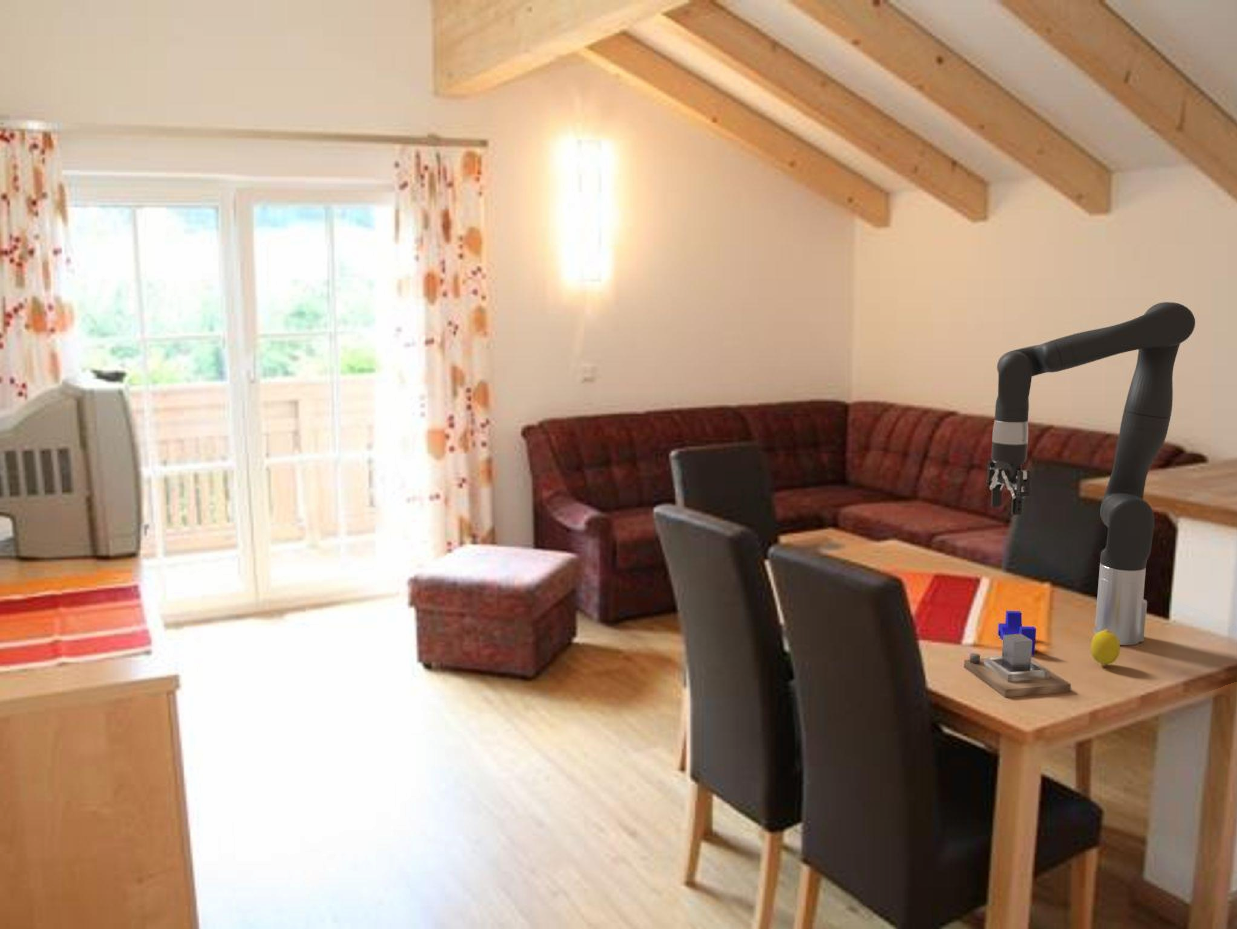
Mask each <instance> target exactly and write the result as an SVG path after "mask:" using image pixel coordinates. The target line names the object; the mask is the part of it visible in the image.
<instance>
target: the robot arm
mask: <svg viewBox="0 0 1237 929" xmlns="http://www.w3.org/2000/svg"><path fill="white" fill-rule="evenodd" d="M1195 327H1196V318H1195V316H1194V314H1193V312H1192V310H1191V309H1189V308H1188V306H1186V305H1183V304H1181V303H1178V302H1173V301H1172V302H1171V301H1170V302H1169V301H1168V302H1167V301H1164V302H1159V303H1156V304H1154V305H1152V306H1151V307H1149V308H1148V309H1147V310H1146V311H1145V312H1144V314H1143V315H1140V316H1138V317H1135V318H1133V319H1130V320H1127V321H1124V322H1122V323H1119V324H1114V325H1111V326H1110V325H1109V326H1107V327H1101V328H1096V329H1091V330H1086V331H1081V332H1077V333H1073V334H1069V335H1066V336H1063V337H1058V338H1056V339H1052V340H1049V341H1046V342H1044V343H1040V344H1036V345H1031V346H1025V347H1022V348H1021V347H1020V348H1018V349H1013V350H1010V351H1008V352H1006V353H1004V354H1002V355H1001V356H1000V358H999V359H998V362H997V366H996V369H997V373H998V374H997V375H998V383H997V384H998V386H997V389H998V390H997V397H996V400H995V407H994V408H995V410H994V411H995V412H994V423H993V427H992V438H991V439H992V440H991V442H992V443H991V456H990V457H991V460H989V461H987V466H986V477H985V479H986V480H985V485H986V486H987V487H989V490H991V491H990V492H991V494H990V495H991V496H990V506H991V507H994V508H995V507H996V508H997V507H998V508H999V507H1001V506H1002V496H1003V491H1002V489H1003V487H1004V486H1006V489H1007V490H1008V491H1010V495H1011V497H1012V498H1011V503H1010V506H1011V507H1010V514H1011V515H1013V516H1018V515H1019V516H1020V515H1021V514H1022V509H1023V500H1024V498H1029V497H1030V494H1031V493H1030V489H1031V488H1030V485H1031V470H1027V469H1025V470H1023V469H1022V464H1023V463H1025V462H1026V461H1027V459H1028V445H1029V411H1030V410H1029V409H1030V400H1029V398H1030V397H1029V396H1030V394H1031V393H1030V392H1031V387H1032V379H1033V377H1036V376H1039V375H1043V374H1047V373H1058V372H1061V371H1066V370H1069V369H1072V368H1076V367H1080V366H1083V365H1086V364H1089V363H1092V362H1096V361H1100V360H1103V359H1105V358H1106V359H1107V358H1109V357H1112V356H1113V357H1114V356H1116V355H1120V354H1124V353H1127V352H1128V353H1129V352H1133V351H1137V350H1138V351H1137V353H1138V354H1137V360H1136V365H1135V369H1134V373H1133V376H1132V378H1131V382H1130V385H1129V389H1128V393H1127V395H1126V400H1125V404H1124V407H1123V408H1124V409H1123V412H1122V416H1121V417H1122V418H1121V422H1120V428H1119V433H1118V434H1119V435H1118V439H1117V443H1116V449H1115V455H1114V462H1113V467H1112V469H1111V470H1112V471H1111V474H1110V477H1109V481H1108V482H1107V486H1106V489H1105V493H1104V495H1103V498H1102V501H1101V505H1100V510H1099V511H1100V512H1099V513H1100V518H1101V521H1102V522H1103V524H1104V525H1105V526H1106V527H1107V536H1106V537H1107V538H1106V546H1105V548H1104V549H1102V551H1101V552H1100V558H1099V559H1100V560H1099V574H1098V586H1097V597H1096V598H1097V599H1096V608H1095V609H1096V610H1095V622H1094V623H1095V624H1094V632H1093V636H1094V635H1095V634H1096V633H1098V632H1100V631H1104V630H1105V629H1107V630H1109V631H1110V632H1112V633H1113V634H1115V635H1116V636H1117V638H1118V640H1119V644H1120V646H1135V645H1137V644H1139V643H1140V642H1141V643H1142V642H1145V641H1144V640H1145V628H1146V618H1147V607H1148V600H1146V599H1144V596H1145V595H1144V594H1145V585H1146V584H1145V582H1146V581H1145V580H1146V569H1147V562H1148V560H1149V557H1150V556H1151V553H1152V552H1151V551H1152V545H1153V536H1154V528H1155V515H1154V511H1153V508H1152V506H1151V505H1150V504H1149V503H1148V501H1146V500H1145V499H1144V493H1145V489H1146V488H1145V487H1146V481H1147V476H1148V474H1149V470H1150V468H1151V466H1152V465H1153V463H1154V461H1155V460H1156V457H1157V456H1158V454H1159V452H1160V451H1161V449H1162V447H1163V445H1164V443H1165V440H1166V439H1167V435H1168V430H1169V426H1170V421H1171V416H1172V411H1173V398H1174V394H1173V391H1174V390H1173V389H1174V388H1173V384H1174V383H1173V376H1174V374H1173V373H1174V367H1175V362H1176V358H1177V355H1178V351H1179V348H1180V345H1181V344H1182V343H1184V342H1185V341H1187V340H1188V339H1189V338H1190V337H1191V336H1192V334H1193V332H1194V330H1195ZM1023 488H1024V489H1023Z"/></svg>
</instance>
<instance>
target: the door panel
mask: <svg viewBox="0 0 1237 929" xmlns="http://www.w3.org/2000/svg"><path fill="white" fill-rule="evenodd" d="M1001 663H1002V656H996V657H995V656H994V657H985V658H984V657H983V658H981V655H980V654H979V653H973V652H972V653H969V659H964V661H963V668H965V669H966V670H967V671H969V673H971V674H973V675H974V676H976V677H977V678H978V679H979V680H981V681H982V682H984V683H985V684H986V685H988V686H989V687H990V688H991V689H993V690H994V691H995V692H997V693H998V694H1000V695H1001V696H1002V697H1003V698H1011V697H1013V698H1014V697H1015V698H1016V697H1023V696H1025V697H1027V696H1035V695H1036V696H1037V695H1048V694H1062V693H1070V692H1071V688H1072V684H1071V683H1070V682H1068V681H1067V680H1065V679H1064V678H1062V677H1061V676H1059V675H1057V674H1056V673H1054V672H1052V671H1051V670H1050V669H1048V668H1046V667H1045V666H1044V665H1042V664H1040V663H1038V662H1037V661H1036V660H1034V659H1032V658H1031V668H1030V671H1020V672H1009V671H1007V670H1006V669H1004V668H1003V667H1001Z"/></svg>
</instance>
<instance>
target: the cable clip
mask: <svg viewBox="0 0 1237 929" xmlns="http://www.w3.org/2000/svg"><path fill="white" fill-rule="evenodd" d="M1022 614H1023V613H1022V612H1021V611H1020V610H1005V622H1003V623H1002V622H1001V623H998V624H997V625H998V626H997V628H998V629H997V636H998V635H999V636H1000V637H999V636H998V637H999V638H1000V640H1001V639H1002V640H1003V635H1012V634H1022V635H1024V636H1026V637H1027V638H1029V639H1031V640H1032V654H1031V656H1033V655H1035V651H1036V650H1035V649H1036V648H1035V647H1036V638H1037V637H1036V636H1037V635H1036V634H1037V628H1036V627H1035V626H1026V625H1025V626H1023V620H1022ZM1002 640H1001V641H1002Z"/></svg>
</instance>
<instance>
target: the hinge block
mask: <svg viewBox="0 0 1237 929" xmlns="http://www.w3.org/2000/svg"><path fill="white" fill-rule="evenodd" d="M1031 654H1032V640H1031V639H1029V638H1027V637H1026V636H1024V635H1022V634H1012V635H1003V641H1002V648H1001V657H1002V663H1001V667H1003V668H1004V669H1006V670H1007V671H1009V672H1020V671H1030V668H1031V659H1032V655H1031Z"/></svg>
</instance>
